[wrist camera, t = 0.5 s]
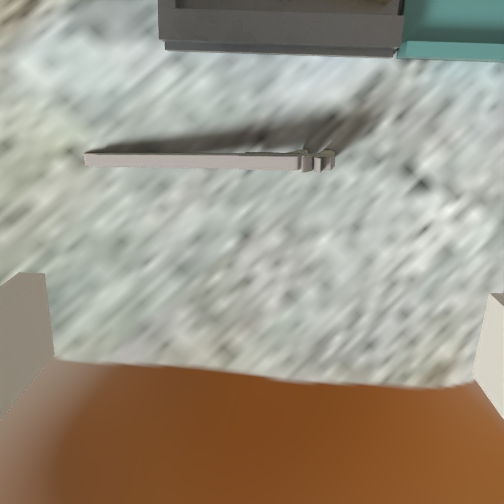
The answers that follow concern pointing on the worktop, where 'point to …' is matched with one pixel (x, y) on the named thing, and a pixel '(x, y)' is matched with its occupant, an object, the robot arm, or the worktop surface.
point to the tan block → (382, 1)
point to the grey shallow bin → (282, 27)
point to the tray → (453, 30)
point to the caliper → (218, 160)
